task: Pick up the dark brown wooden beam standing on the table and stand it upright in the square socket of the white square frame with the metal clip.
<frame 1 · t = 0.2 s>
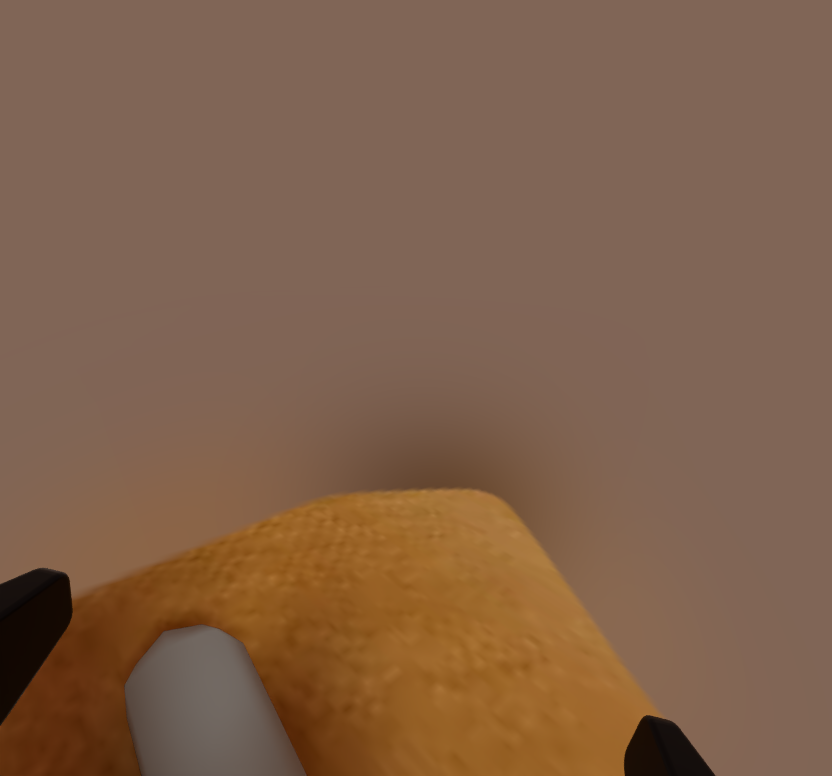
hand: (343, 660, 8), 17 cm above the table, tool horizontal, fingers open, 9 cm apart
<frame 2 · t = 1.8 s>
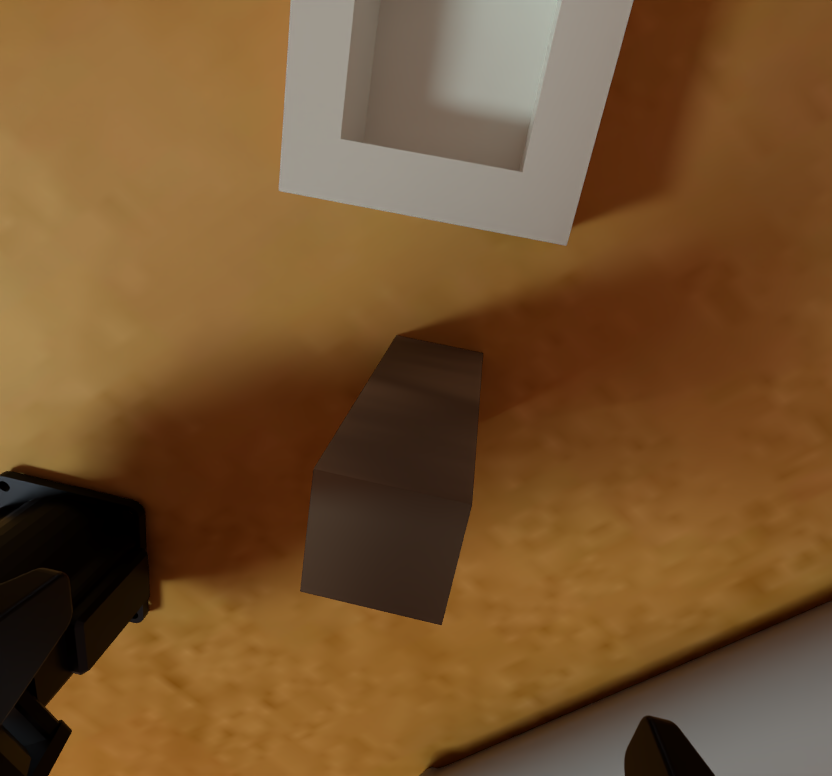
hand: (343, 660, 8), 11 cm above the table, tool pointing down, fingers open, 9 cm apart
tube: (668, 684, 23), on the table
white square frame: (456, 71, 15), on the table
dark brown wooden beam: (431, 384, 19), on the table
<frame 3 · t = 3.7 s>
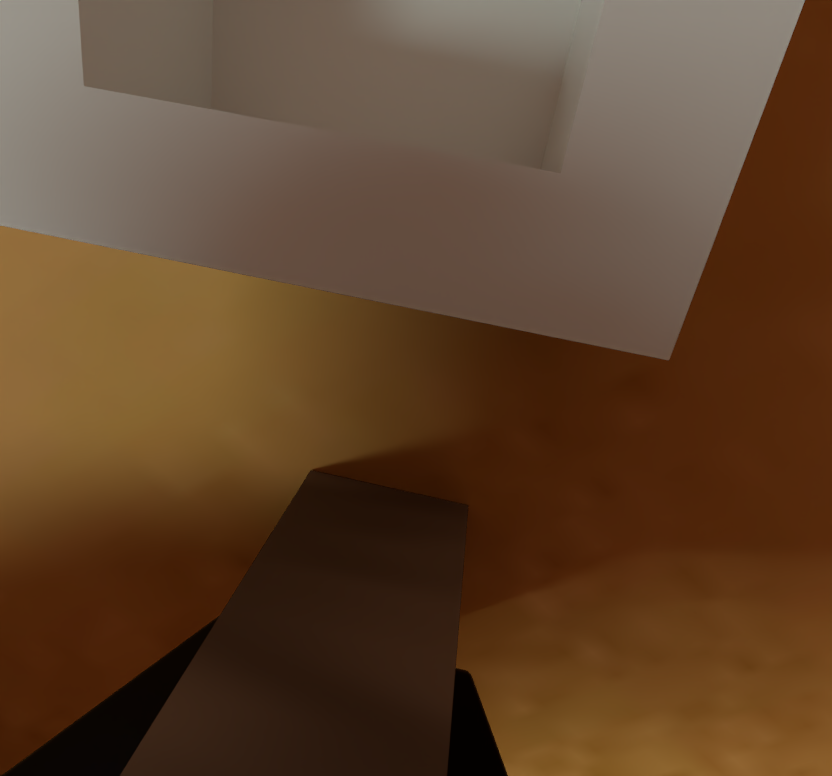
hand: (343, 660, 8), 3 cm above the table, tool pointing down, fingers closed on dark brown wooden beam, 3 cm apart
dark brown wooden beam: (377, 551, 10), on the table, touching gripper
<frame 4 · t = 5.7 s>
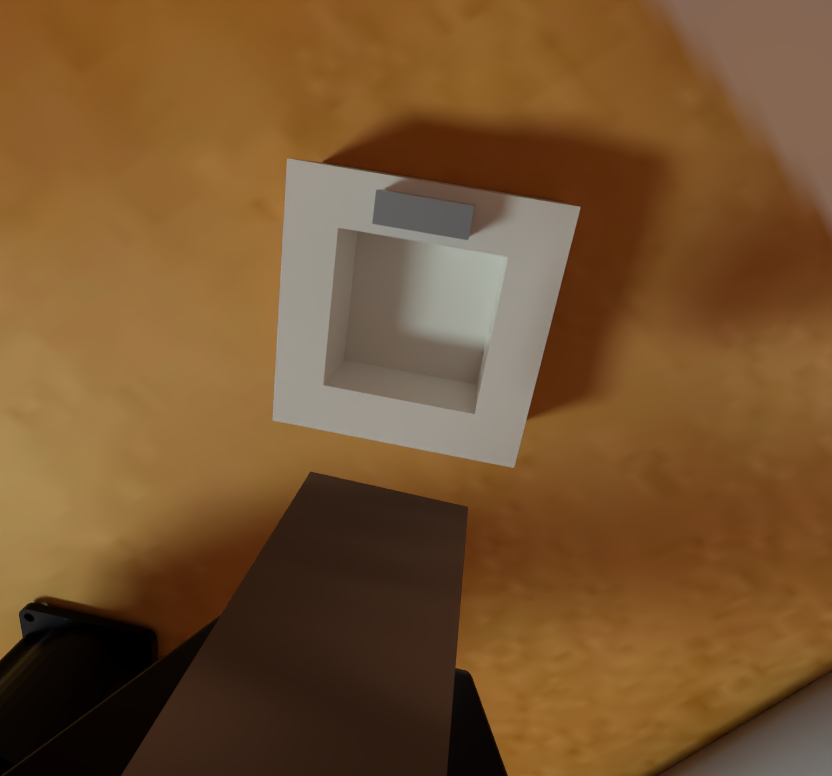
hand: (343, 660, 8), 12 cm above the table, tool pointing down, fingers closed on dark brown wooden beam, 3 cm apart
white square frame: (421, 302, 18), on the table
dark brown wooden beam: (377, 553, 10), point 9 cm above the table, touching gripper
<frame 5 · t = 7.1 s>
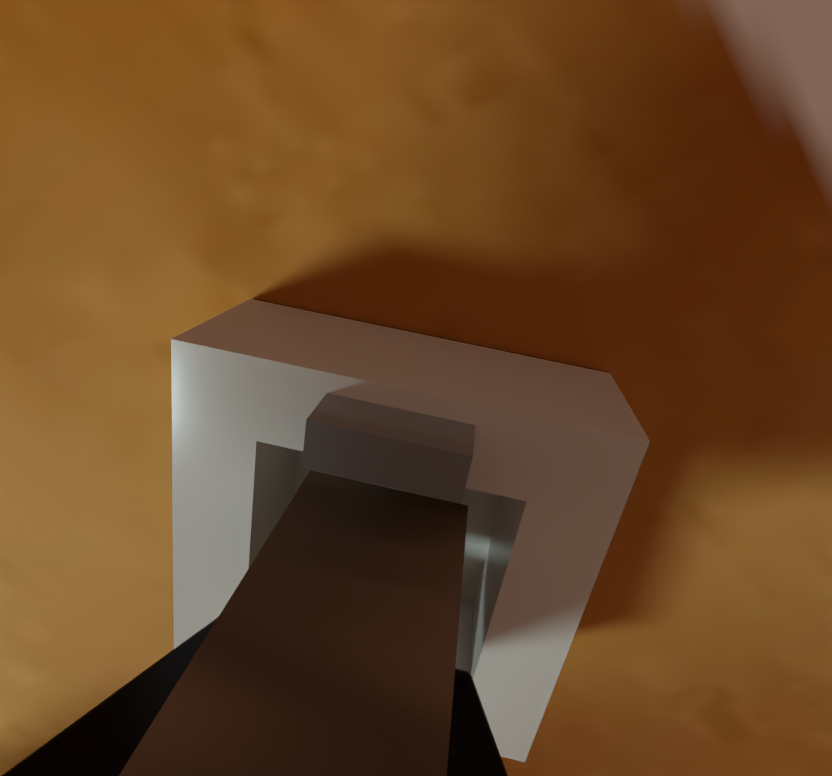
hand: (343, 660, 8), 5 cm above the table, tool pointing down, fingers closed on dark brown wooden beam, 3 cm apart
white square frame: (397, 488, 12), on the table
dark brown wooden beam: (377, 551, 10), point 2 cm above the table, touching gripper
when the fingers open (4 cm above the table, at t = 7.9 s): dark brown wooden beam stays where it is, resting on white square frame.
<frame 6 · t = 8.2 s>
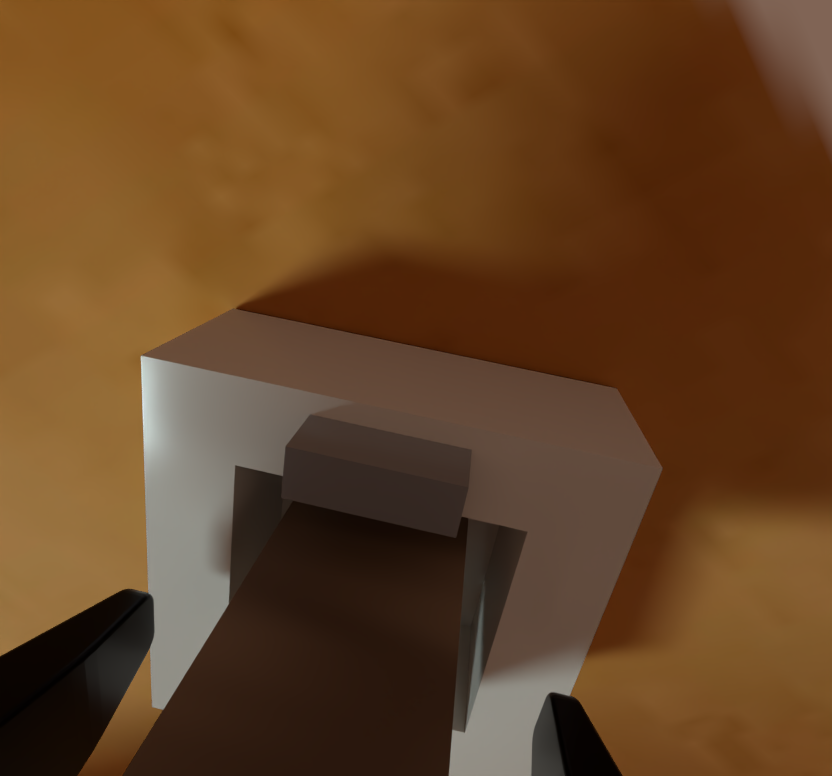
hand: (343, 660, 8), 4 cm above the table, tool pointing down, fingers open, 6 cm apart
white square frame: (391, 508, 12), on the table
dark brown wooden beam: (387, 522, 11), resting on white square frame
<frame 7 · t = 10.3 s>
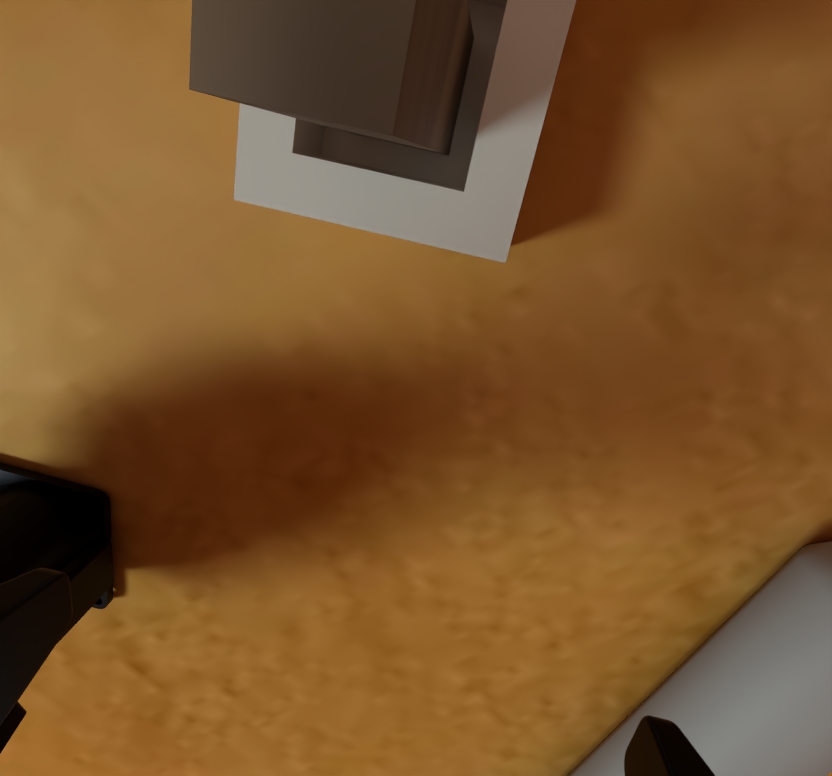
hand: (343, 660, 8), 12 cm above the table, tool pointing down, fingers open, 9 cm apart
tube: (649, 718, 24), on the table
white square frame: (412, 89, 16), on the table
dark brown wooden beam: (409, 87, 15), resting on white square frame
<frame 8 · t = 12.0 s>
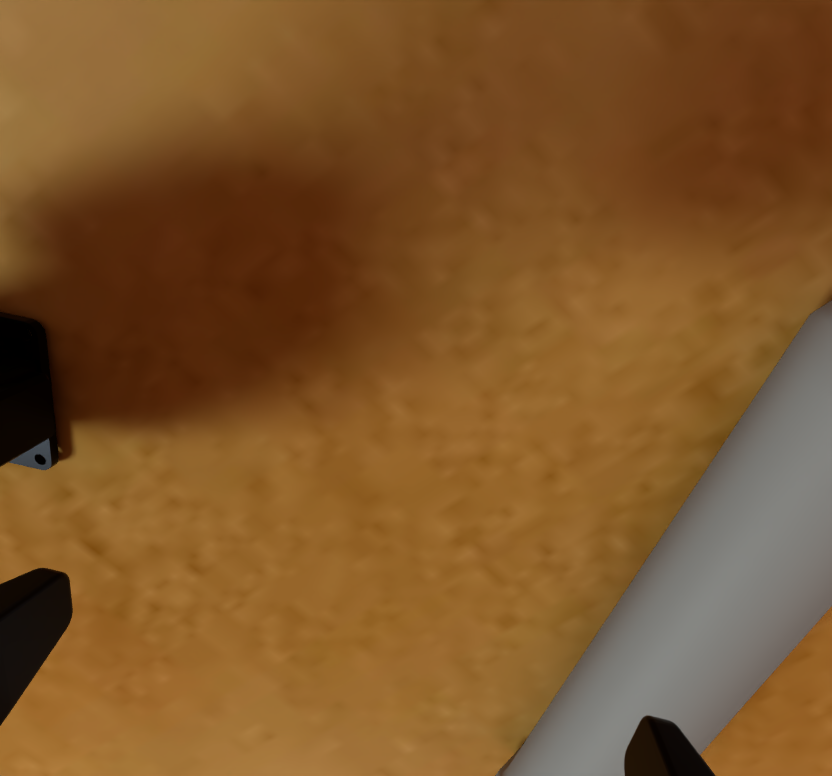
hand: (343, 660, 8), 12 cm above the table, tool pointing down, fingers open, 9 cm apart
tube: (673, 570, 21), on the table
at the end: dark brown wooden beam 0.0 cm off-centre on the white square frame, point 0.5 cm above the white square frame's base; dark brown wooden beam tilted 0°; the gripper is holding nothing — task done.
